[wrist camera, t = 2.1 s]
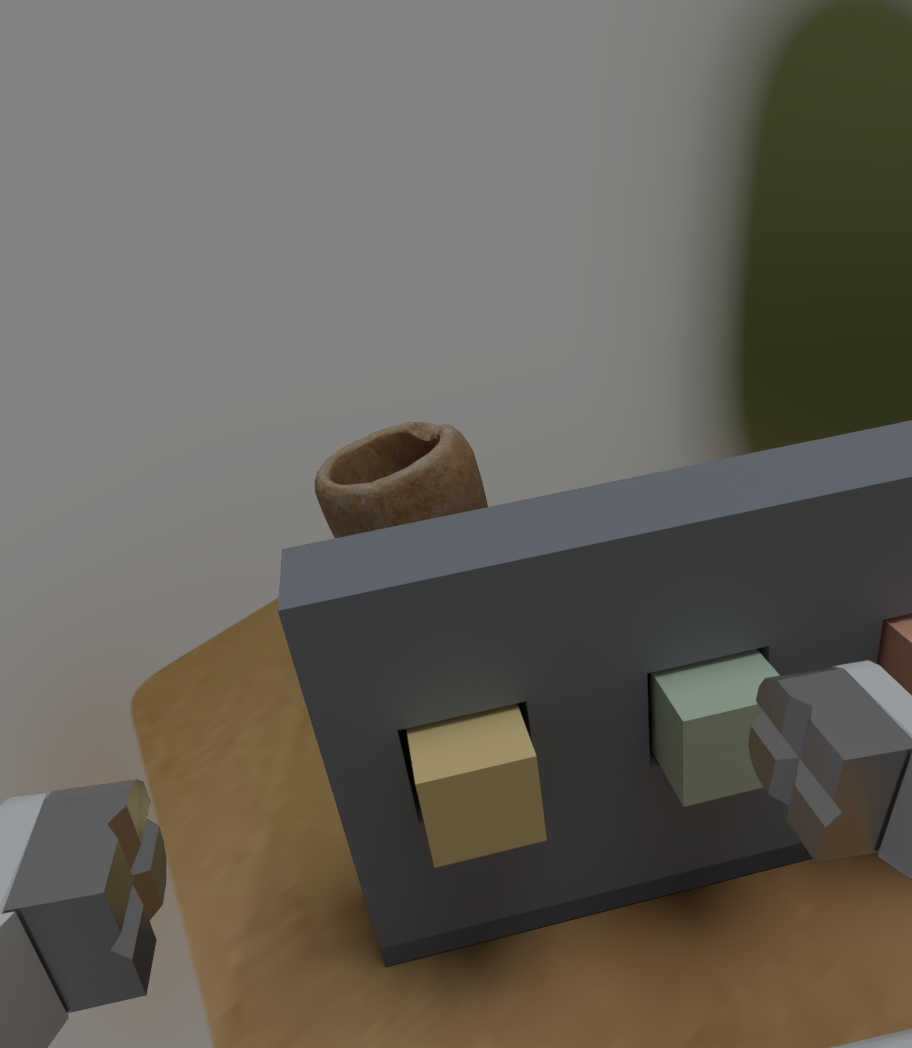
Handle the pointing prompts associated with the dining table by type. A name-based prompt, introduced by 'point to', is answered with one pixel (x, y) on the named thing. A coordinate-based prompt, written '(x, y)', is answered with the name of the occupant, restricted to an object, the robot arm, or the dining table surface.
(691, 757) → the sage button
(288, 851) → the dining table surface
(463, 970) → the dining table surface
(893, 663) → the terracotta button
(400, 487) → the stone cup
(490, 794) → the ochre button
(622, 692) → the console
